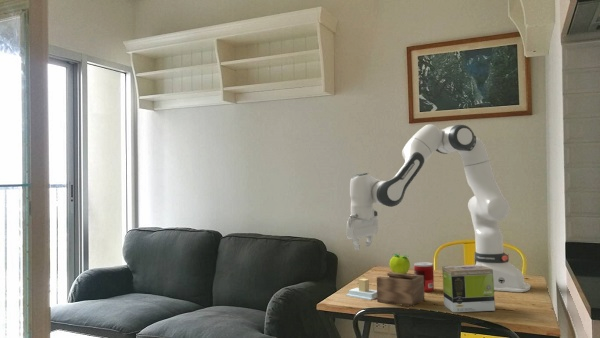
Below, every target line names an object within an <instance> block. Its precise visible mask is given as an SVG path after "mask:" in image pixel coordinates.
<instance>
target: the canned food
mask: <svg viewBox="0 0 600 338" xmlns="http://www.w3.org/2000/svg"><path fill="white" fill-rule="evenodd" d="M413 265H414V267H413V268H414V270H413V271H414V275H422V276H424V293H431V292H433V291H434V289H435V286H434V283H435V282H434V281H435V280H434V278H435V277H434V263H433V262H428V261H419V262H414V264H413Z"/></svg>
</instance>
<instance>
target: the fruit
mask: <svg viewBox="0 0 600 338" xmlns="http://www.w3.org/2000/svg"><path fill="white" fill-rule="evenodd" d="M408 257H409V256H408V255H406V254H405V255H400V253H399V254H398V253H393V256H392V257H391V258H390V260H389V268H390V269H391V272H393V273H403V274H408V272H409V270H410V268H411V262H410V260H409V258H408Z"/></svg>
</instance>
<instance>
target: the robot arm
mask: <svg viewBox="0 0 600 338" xmlns="http://www.w3.org/2000/svg"><path fill="white" fill-rule="evenodd" d="M485 145H486V144H485V143H484V142H483V140H482V139H481V138H479V137H476V135H475V134H474V131H473V130H472V128H470V127H469V126H468V125H464V124H456V125H451V126H450V125H449V126H447V127H445V128H442V129H440V128H439V127H438V126H437V125H435V124H432V123H431V124H426V125H424V126H422V127H421V128H420V129H418V131H416V132H415V134H413V135H412V136H411V138H409V140H408V141H407V142H406V143H405V145H404V147H403V148H402V151H401V155H402V158H403V160H404V163H403V165H401V168H399V170H398V172H396V174H395V175H394V176H393V177H392V178H391V179H389V180H381V179H378V178H376V177H374V176H372V175H371V174H370V173H368V172H363V173H359V174H355V175H354V174H353V176H352V177H351V178H350V181H349V197H350V215H349V218H348V220H347V222H346V231H345V232H346V233H345V234H346V235H345V236H346V238H347V240H352V244H353V246H354V248H353V249H354V250H355V251H358V250H360V249H361V245H360V244H359V241H360V240H359V239H363V238H366V242H365V247H372V241H373V237H374V235H377V233H378V231H379V230H378V229H379V227H378V226H379V220H378V217H379V211H378V210H376V209H374V208H373V204H376V205H382V206H386V207H389V208H390V207H396V206H398V205H399V204H400V203H402V201H403V199H404V196H405V193H406V190H407V189H408V187H409V186H410V184H411V183H412V181H413V180H414V179H415V178H416V176H417V175H418V173H419V172H420V170H421V169H422V168H423V166H424V164H425V163H426V162H427V161H428V160H429V159H430V158H431V157H432V155H433V154H434V152H435V151H436V152H438V153H439V154H443V155H445V154H446V155H447V154H455V153H458V154H459V156H460V158H461V162H462V166H463V169H464V175H465V177H466V182H467V185H468V186H469V188H470V189H471V191H472V193H473V196H472V197H470V198H469V200H468V201H467V202H468V203H467V208H468V211H469V214H470V217H471V221H472V226H473V230H474V239H475V241H474V242H475V252H474V265H483V266H485V267H488V268H490V269H493V281H494V291H498V292H511V293H525V292H528V291H530V289H531V284H529V283H526V282H525V277H524V274H523V272H522V270H520V269H518V268H517V267H516V266H515V265H513V264H512V263H510V261H509V260H510V259H509V257H510V254H507V253H505V252H504V235H503V232H502V230H501V228H500V224H499V221H501V220H503V219H506V218H507V217H508V216H509V215H510V211H511V206H510V203H509V201H508V200H507V199H506V198H505V196H504V195H503V192H502V191H501V188H500V186H499V184H498V183H497V180H496V177H495V174H494V170H493V168H492V163H491V159H490V156H489V153H488V151H487V148H486V146H485Z"/></svg>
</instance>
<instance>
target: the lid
mask: <svg viewBox="0 0 600 338" xmlns="http://www.w3.org/2000/svg"><path fill="white" fill-rule="evenodd" d="M345 297H350V298H356V299H361V300H366V301H367V300H368V301H373V300H375V299H377V289H376V290H375V289H370V279H369V278H360V279H358V287H355V288H352V289H349V290H348V293H346V294H345Z"/></svg>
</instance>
